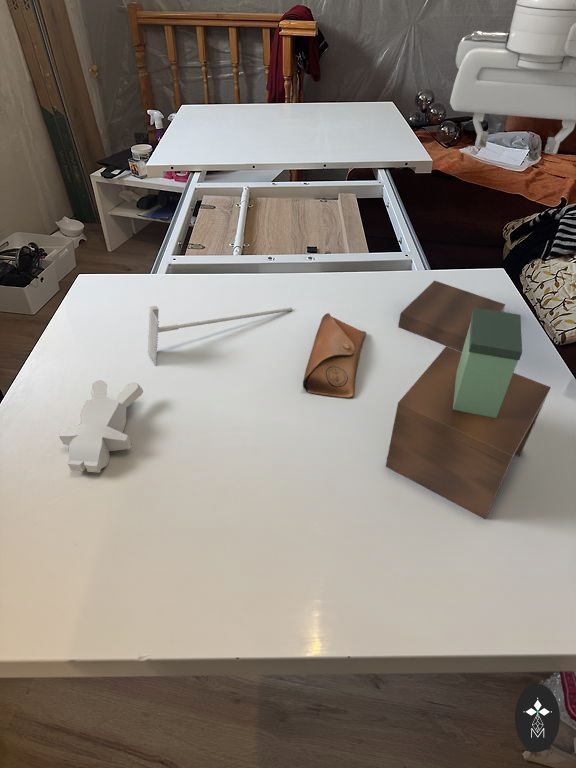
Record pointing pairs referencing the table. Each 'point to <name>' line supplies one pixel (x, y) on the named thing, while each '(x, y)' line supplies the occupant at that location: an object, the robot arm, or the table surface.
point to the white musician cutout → (99, 428)
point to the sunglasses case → (334, 359)
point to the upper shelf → (460, 436)
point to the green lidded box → (487, 362)
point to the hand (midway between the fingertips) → (514, 149)
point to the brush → (155, 329)
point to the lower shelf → (444, 314)
